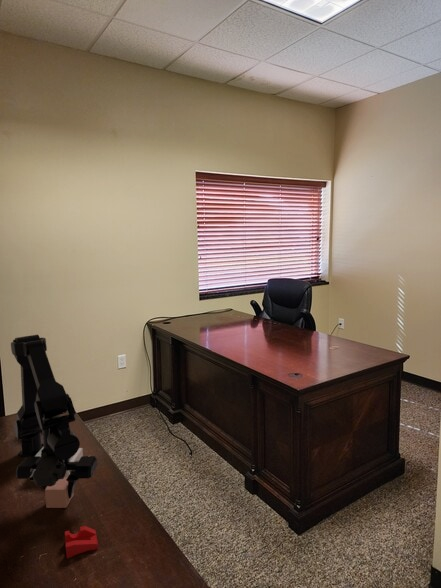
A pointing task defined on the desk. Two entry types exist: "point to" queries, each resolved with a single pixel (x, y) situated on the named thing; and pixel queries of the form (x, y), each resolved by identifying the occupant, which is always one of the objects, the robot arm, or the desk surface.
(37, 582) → the desk surface
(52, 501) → the terracotta block
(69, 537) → the bracket
